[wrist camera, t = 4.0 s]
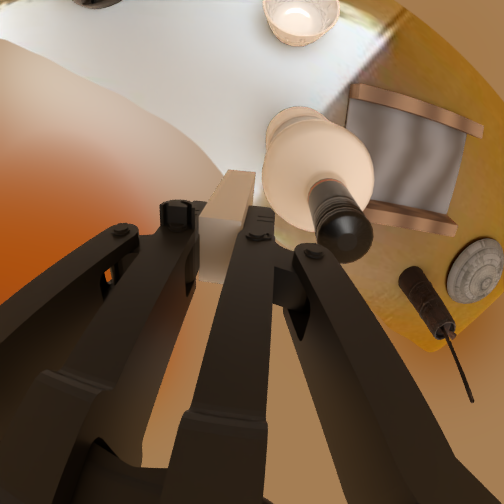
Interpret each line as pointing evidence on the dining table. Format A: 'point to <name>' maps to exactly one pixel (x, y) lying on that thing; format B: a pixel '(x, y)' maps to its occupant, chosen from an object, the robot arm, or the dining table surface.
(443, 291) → the dining table surface
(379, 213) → the u rest
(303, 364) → the robot arm
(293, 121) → the vodka
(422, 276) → the butter churn
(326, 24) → the white cup
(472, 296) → the flying saucer
